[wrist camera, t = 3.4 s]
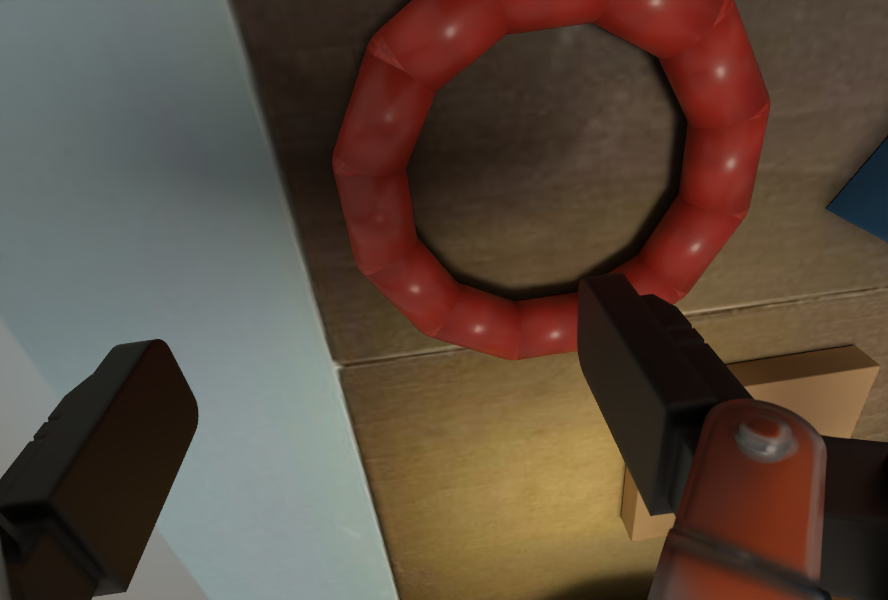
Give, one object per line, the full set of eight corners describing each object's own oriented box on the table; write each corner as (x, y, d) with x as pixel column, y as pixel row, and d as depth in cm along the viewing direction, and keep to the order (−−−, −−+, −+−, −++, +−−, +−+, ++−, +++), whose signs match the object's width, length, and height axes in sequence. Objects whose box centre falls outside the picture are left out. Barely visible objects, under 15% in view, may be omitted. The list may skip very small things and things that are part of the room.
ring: (382, 356, 21) (381, 392, 19) (292, -31, 14) (277, -32, 12) (705, 307, 21) (735, 338, 20) (777, -99, 14) (836, -110, 12)
